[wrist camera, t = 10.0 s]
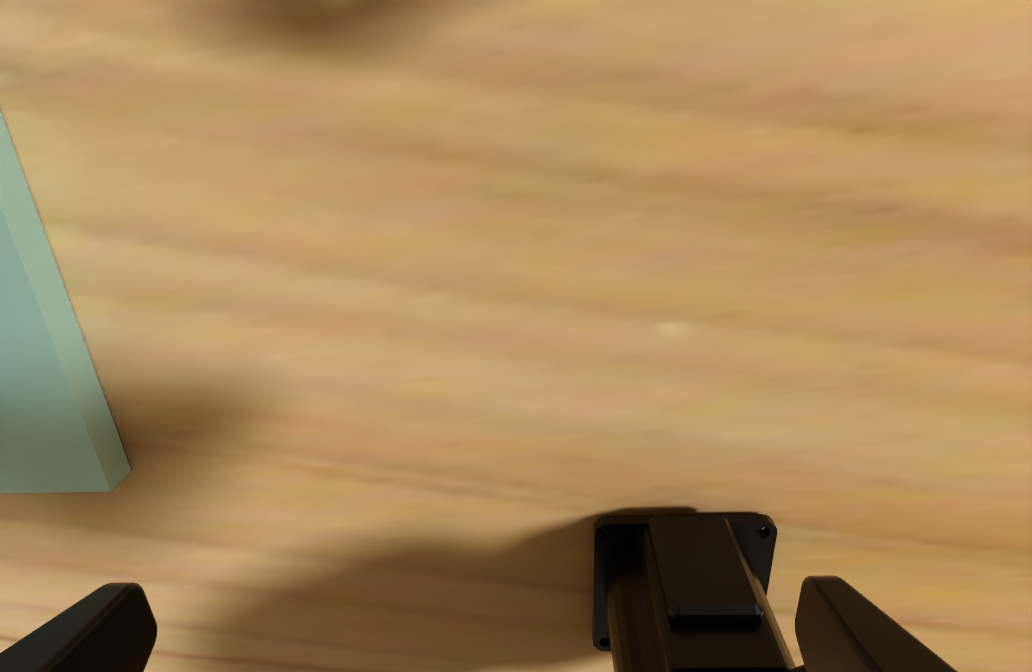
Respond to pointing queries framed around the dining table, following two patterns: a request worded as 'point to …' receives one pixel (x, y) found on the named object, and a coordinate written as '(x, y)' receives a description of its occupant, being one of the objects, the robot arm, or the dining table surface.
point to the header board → (45, 363)
